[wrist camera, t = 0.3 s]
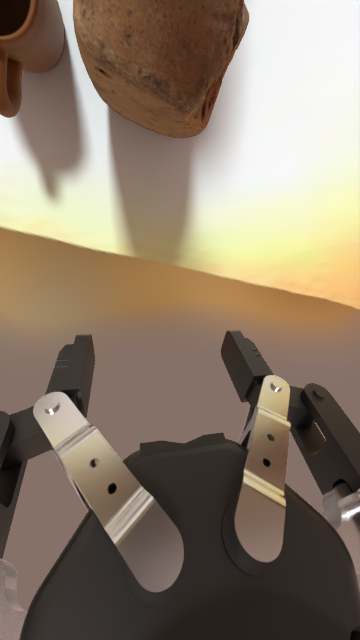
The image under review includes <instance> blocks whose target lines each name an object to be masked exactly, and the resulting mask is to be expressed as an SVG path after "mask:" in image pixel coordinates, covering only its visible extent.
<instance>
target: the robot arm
mask: <svg viewBox="0 0 360 640" xmlns="http://www.w3.org/2000/svg"><path fill="white" fill-rule="evenodd" d="M221 356H222V359H223V361H224V364H225V366H226V368H227V371H228V373H229V375H230V377H231V380H232V382H233V384H234V387H235V389H236V391H237V393H238V396H239V398H240V400H241V402H249V404H250V407H249V409H248V412H247V416H246V420H245V423H244V427H243V430H242V434H241V437H240V439H239V442H238V443H236V442H234V441H231V440H228V439H225V437H224V434H223V433H216V434H208V435H203V436H201V437H199V438H196V439H194V440H192V441H190V442H187V443H184V444H183V443H182V444H181V443H175V442H168V441H156V442H148V443H140V450H139V451H136V452H134V453H133V454H131V455H129V456H128V457H127V458H126V459H124V460H123V461H122V460H121V459H120V458H119V456H118V455H117V454H116V453H115V451H114V450H113V449H112V447H111V446H110V445H109V444H108V442H107V441H106V440H105V439H104V437H103V436H102V435H101V433H100V432H99V431H98V429H97V428H95V426H93V425H90V424H89V423H88V422H87V421H86V419H85V418H86V417H87V411H88V404H89V398H90V391H91V385H92V377H93V371H94V365H95V354H94V347H93V341H92V336H91V335H90V334H89V335H76V337H75V341H74V344H72V345H66V346H64V347H63V349H62V350H61V351H60V352H59V355H58V358H57V362H56V364H55V368H54V370H53V373H52V376H51V379H50V382H49V385H48V388H47V391H46V394H45V395H44V396H43V397H42V398H40V399H39V400H38V401H37V402H36V404H35V405H34V406H32V407H30V408H28V409H26V410H23V411H20V412H17V413H15V414H11V415H8V414H7V413H5V412H3V411H0V640H360V591H359V586H358V581H357V576H356V574H359V573H360V433H359V432H358V430H357V429H356V428H355V426H354V425H353V424H352V422H351V421H350V419H349V418H348V417H347V415H346V414H345V413H344V411H343V410H342V409H341V407H340V406H339V405H338V403H337V402H336V401H335V399H334V398H333V397H332V395H331V394H330V393H329V392H328V391H327V390H326V389H325V388H323V387H321V386H320V385H317V384H313V383H312V384H311V383H310V384H307V385H306V386H305V388H304V389H302V388H297V387H292V386H289V385H288V384H287V382H286V381H284V380H283V379H281V378H280V377H277V376H275V375H273V373H272V371H271V370H270V368H269V367H268V365H267V363H266V362H265V361H264V359H263V357H261V354H260V352H259V351H258V349H257V348H256V346H255V344H254V343H253V342H251V341H250V340H249V339H248V338H244V336H243V335H242V333H241V331H239V330H238V331H227V332H226V335H225V338H224V341H223V344H222V348H221ZM315 423H317V425H318V426H319V428H320V429H321V431H322V433H323V434H324V436H325V438H326V441H325V439H324V438H323V436H322V434H321V433H320V431H319V429H318V428H317V426H316V424H315ZM290 431H291V433H292V435H293V437H294V439H295V441H296V443H297V445H298V447H299V449H300V451H301V453H302V455H303V457H304V459H305V461H306V463H307V465H308V467H309V469H310V471H311V473H312V475H313V477H314V479H315V480H316V482H317V485H318V487H319V488H320V490H321V492H322V494H323V499H322V506H323V510H324V511H323V516H324V517H323V516H322V515H321V514H320V513H318V512H317V511H316V510H315V509H314V508H313V507H312V506H311V505H309V504H308V503H307V502H306V501H305V500H304V499H303V498H301V497H300V496H299V495H298V494H297V493H296V492H295V491H294V490H292V489H291V488H290V487H289V486H288V485H287V484H286V483H285V477H286V466H287V457H288V446H289V436H290ZM49 450H52V452H53V453H54V455H55V456H56V458H57V460H58V461H59V463H60V465H61V466H62V468H63V470H64V471H65V473H66V475H67V476H68V478H69V480H70V482H71V483H72V485H73V487H74V489H75V491H76V492H77V494H78V496H79V497H80V499H81V501H82V502H83V504H84V506H85V507H86V509H87V511H88V513H87V514H86V516H85V517H84V519H83V520H82V522H81V524H80V525H79V527H78V528H77V530H76V532H75V533H74V534H73V536H72V538H71V539H70V541H69V542H68V544H67V545H66V547H65V549H64V550H63V552H62V553H61V555H60V556H59V558H58V559H57V561H56V562H55V564H54V566H53V567H52V569H51V570H50V572H49V573H48V575H47V576H46V578H45V579H44V581H43V583H42V584H41V586H40V587H39V589H38V591H37V593H36V594H35V596H34V598H33V600H32V602H31V604H30V607H29V609H28V610H24V609H22V608H21V606H20V605H19V603H18V601H17V596H16V587H17V573H16V570H15V568H14V566H13V565H12V564H10V563H9V562H6V561H4V560H2V558H3V554H4V550H5V546H6V542H7V538H8V534H9V531H10V526H11V523H12V519H13V515H14V511H15V507H16V503H17V500H18V496H19V492H20V488H21V484H22V480H23V476H24V472H25V468H26V465H27V461H28V459H31V458H33V457H35V456H37V455H40V454H42V453H44V452H46V451H49Z"/></svg>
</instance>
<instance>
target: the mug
mask: <svg viewBox="0 0 360 640" xmlns="http://www.w3.org/2000/svg"><path fill="white" fill-rule="evenodd" d="M63 46H64V26H63V19H62V15H61V11H60V8H59V5H58V2H57V0H0V114H1V115H3V116H5V117H8V118H10V117H13V116H15V115H16V114H17V113H18V111H19V109H20V105H21V76H22V69H25V70H28V71H31V72H45V71H48V70H50V69H51V68H53V67H54V66H55V65H56V64H57V62H58V61H59V59H60V57H61V54H62V51H63Z"/></svg>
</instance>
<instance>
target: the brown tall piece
mask: <svg viewBox="0 0 360 640" xmlns="http://www.w3.org/2000/svg"><path fill="white" fill-rule="evenodd" d="M73 20H74V29H75V34H76V38H77V43H78V47H79V50H80V54H81V57H82V60H83V62H84V65H85V67H86V70H87V73H88V75H89V77H90V79H91V81H92V83H93V85H94V87H95V89H96V91H97V92H98V94H99V96H100V97H101V98H102V100H103V101H104V102H105V103H106V104H108V105H109V106H110V107H111V108H113V109H114V110H115V111H116V112H118V113H119V114H121V115H122V116H124V117H126V118H128V119H129V120H131V121H133V122H135V123H137V124H139V125H141V126H143V127H145V128H147V129H149V130H152V131H155V132H157V133H160V134H163V135H166V136H169V137H174V138H187V137H192V136H195V135H198V134H199V133H201V132H202V131H203V130H204V128H205V127H206V125H207V123H208V121H209V118H210V115H211V113H212V110H213V107H214V104H215V101H216V98H217V95H218V92H219V89H220V86H221V83H222V78H223V76H224V74H225V72H226V69H227V67H228V65H229V63H230V62H231V60H232V58H233V55H234V53H235V50H236V49H237V48H238V46H239V44H240V42H241V39H242V37H243V36H244V34H245V31H246V28H247V25H248V22H249V13H248V11H247V8H246V6H245V3H244V0H73Z"/></svg>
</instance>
